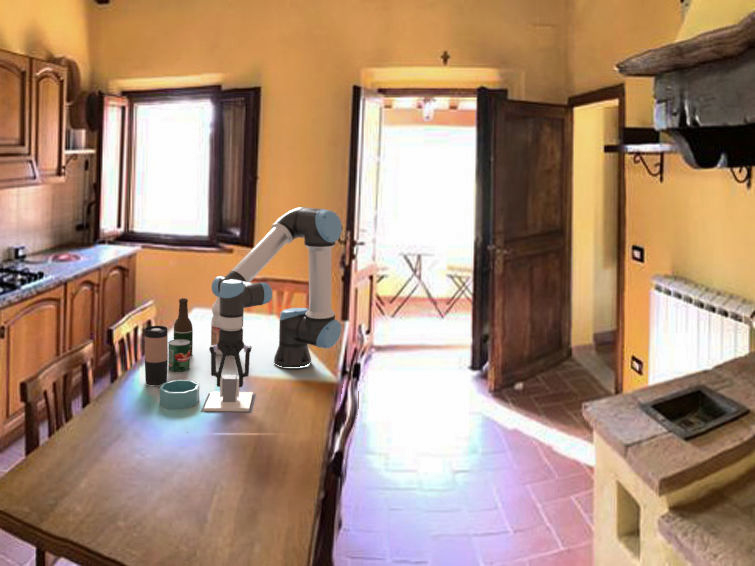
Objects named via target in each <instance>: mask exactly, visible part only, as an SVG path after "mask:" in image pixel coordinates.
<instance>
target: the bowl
mask: <svg viewBox="0 0 755 566" xmlns="http://www.w3.org/2000/svg"><path fill="white" fill-rule="evenodd" d="M199 401H200V383H198V382H196V381H193V380H192V379H174V380H171V381H167V382H166V383H163V384H162V385H160V387H159V406H161V407H163V408H165V409H167V410H185V409H188V408H191V407H192V408H193V407H195V406H197V405H198V403H199Z"/></svg>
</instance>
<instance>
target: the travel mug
mask: <svg viewBox="0 0 755 566" xmlns="http://www.w3.org/2000/svg"><path fill="white" fill-rule="evenodd" d="M168 338H169V337H168V327H166V326H164V325H151V326H147V327H145V329H144V371H145V373H144V374H145V375H144V378H145V384H146V385H147V386H154V387H157V386H162V384H163V383H166V382H168V359H169V358H168V357H169V356H168V355H169V354H168V353H169V352H168V351H169V350H168V349H169V348H168V347H169V344H168V342H169V341H168Z"/></svg>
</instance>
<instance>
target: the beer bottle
mask: <svg viewBox="0 0 755 566" xmlns="http://www.w3.org/2000/svg"><path fill="white" fill-rule="evenodd" d="M188 302H189V300H188V298H183V297H182V298H179V299H178V303H179V305H178V315H177V319H176V320H175V322H174V325H173V340H175V339H185V340H189V341H190V358H191V357H192V356H193V336H194V335H193V333H194V332H193V331H194V330H193V325H192V321H191V319H190V317H189V311H188Z"/></svg>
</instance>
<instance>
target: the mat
mask: <svg viewBox="0 0 755 566" xmlns="http://www.w3.org/2000/svg"><path fill="white" fill-rule="evenodd" d="M210 393H211V392H209V393H208V394H207V396H206V399H205V401H204V404H203V405H202V408H201V410H200V413H223V414H224V413H226V414H227V413H229V414H230V413H232V414H233V413H239V414H240V413H242V414H243V413H245V414H252V413H253V410H254V405H255V400H256V398H257V397H256V396H257V393H253V397H252V401H251V405H250V410H249V411H204V407H205V405H206V403H207V400H208V398H209V396H210Z"/></svg>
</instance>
